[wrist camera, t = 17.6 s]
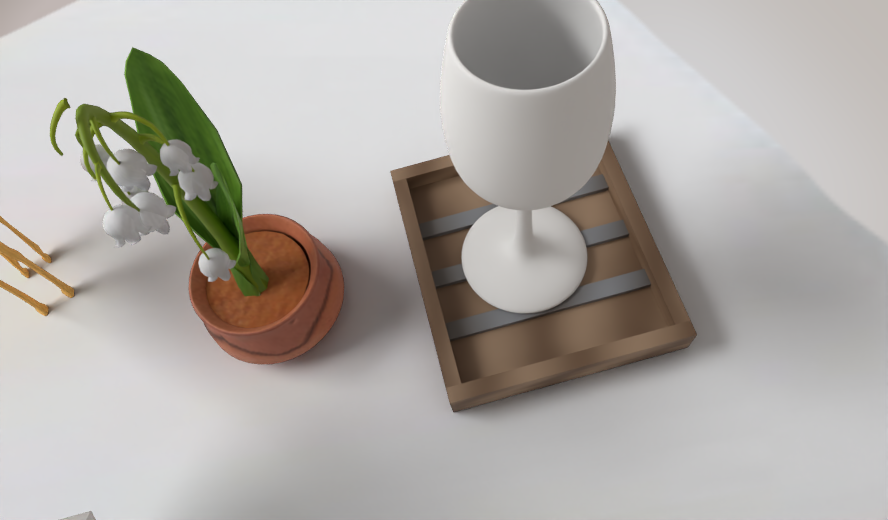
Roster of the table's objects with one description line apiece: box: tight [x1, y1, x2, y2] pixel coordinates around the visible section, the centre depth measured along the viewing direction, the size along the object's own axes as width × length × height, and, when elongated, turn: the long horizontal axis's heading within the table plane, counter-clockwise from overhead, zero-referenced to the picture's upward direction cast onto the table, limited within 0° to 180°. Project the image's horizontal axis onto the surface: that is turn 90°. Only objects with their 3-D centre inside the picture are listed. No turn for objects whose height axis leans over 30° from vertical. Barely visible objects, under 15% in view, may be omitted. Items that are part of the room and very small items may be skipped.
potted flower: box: [50, 48, 344, 364], centre depth 35 cm, size 12×10×25 cm
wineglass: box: [440, 0, 616, 313], centre depth 36 cm, size 9×9×21 cm
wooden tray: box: [390, 141, 697, 412], centre depth 45 cm, size 16×18×2 cm
